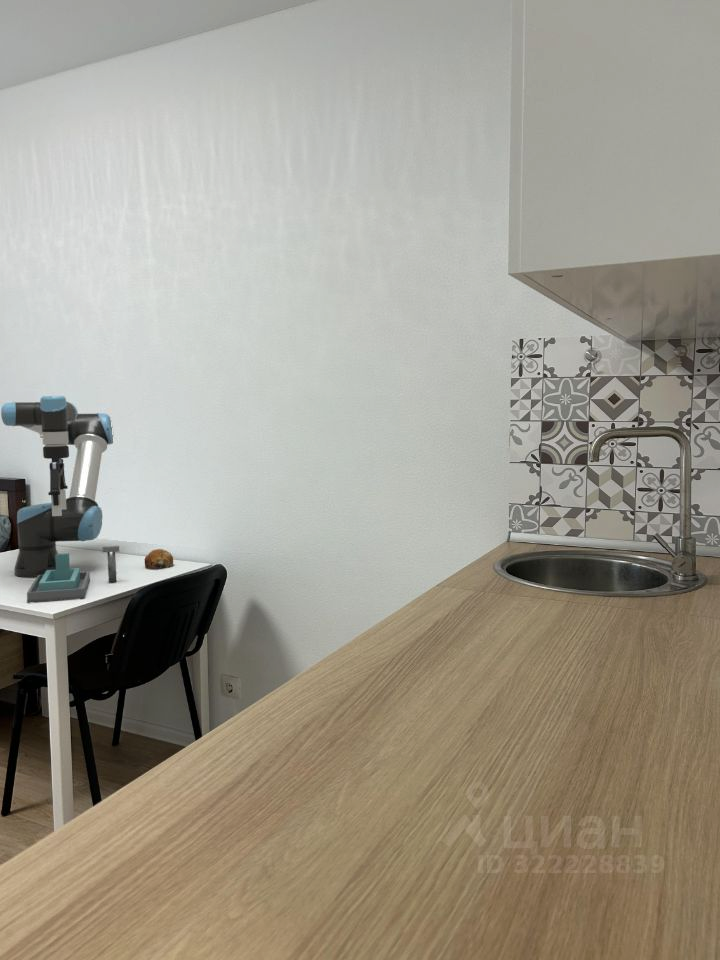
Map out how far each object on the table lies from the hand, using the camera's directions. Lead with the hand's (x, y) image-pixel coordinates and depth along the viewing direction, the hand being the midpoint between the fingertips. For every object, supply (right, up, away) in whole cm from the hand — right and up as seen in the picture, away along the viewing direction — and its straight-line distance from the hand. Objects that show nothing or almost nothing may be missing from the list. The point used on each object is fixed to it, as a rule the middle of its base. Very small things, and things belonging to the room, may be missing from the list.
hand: (59, 512), depth 243 cm
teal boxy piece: (+2, -23, -5) cm, 24 cm away
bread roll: (+24, -20, +28) cm, 42 cm away
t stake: (+15, -23, +5) cm, 28 cm away
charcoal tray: (+2, -24, -6) cm, 25 cm away
